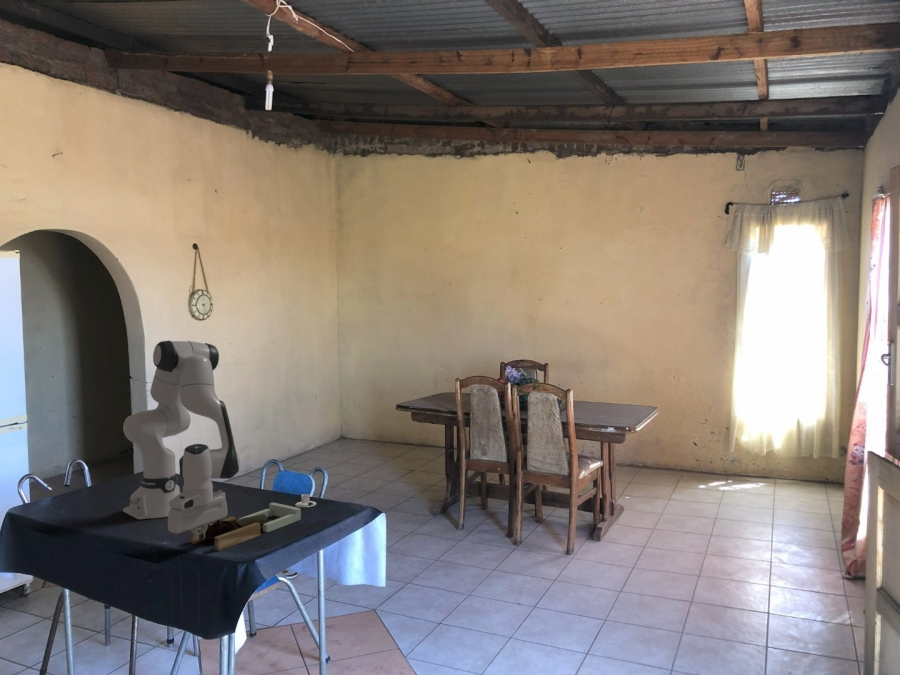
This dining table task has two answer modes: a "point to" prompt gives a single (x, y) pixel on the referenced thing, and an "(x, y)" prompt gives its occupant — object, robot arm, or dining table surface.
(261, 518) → the dark piece
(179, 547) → the dining table surface
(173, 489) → the robot arm
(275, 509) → the frame
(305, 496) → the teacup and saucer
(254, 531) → the oak channel
